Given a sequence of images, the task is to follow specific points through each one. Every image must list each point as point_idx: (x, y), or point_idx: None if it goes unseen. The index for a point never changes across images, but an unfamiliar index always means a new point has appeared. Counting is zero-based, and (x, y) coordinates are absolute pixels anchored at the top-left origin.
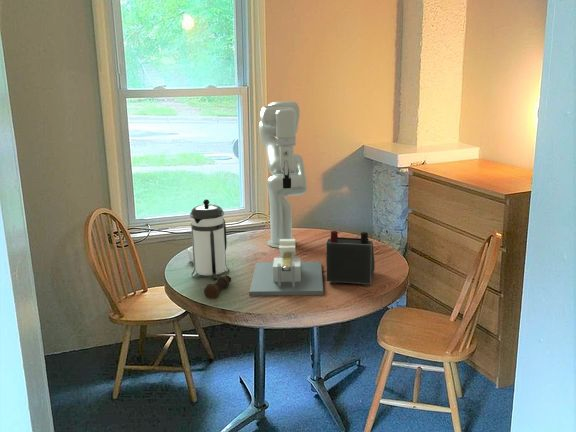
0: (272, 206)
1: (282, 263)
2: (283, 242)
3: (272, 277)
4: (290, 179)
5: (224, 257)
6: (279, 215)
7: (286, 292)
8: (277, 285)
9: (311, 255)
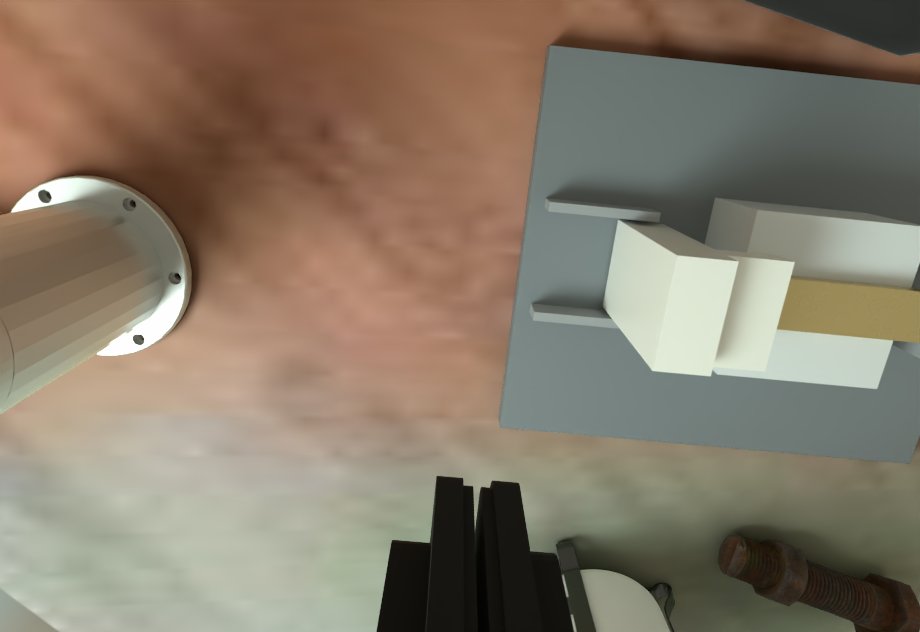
0: None
1: (901, 340)
2: (714, 344)
3: None
4: (540, 627)
5: (630, 620)
6: (31, 351)
7: None
8: None
9: (349, 89)
